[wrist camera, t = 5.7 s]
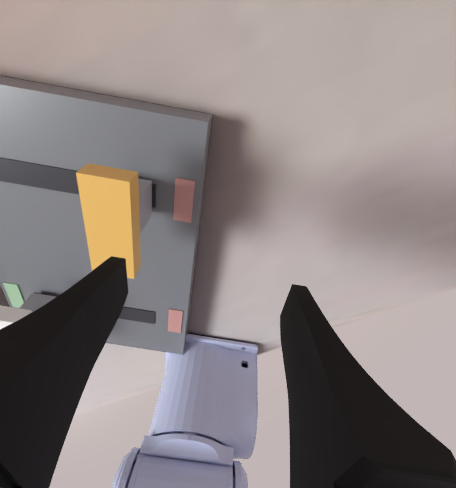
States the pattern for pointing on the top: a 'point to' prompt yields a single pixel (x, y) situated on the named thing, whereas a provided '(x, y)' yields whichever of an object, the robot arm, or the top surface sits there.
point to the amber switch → (114, 213)
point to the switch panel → (69, 205)
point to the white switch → (23, 309)
